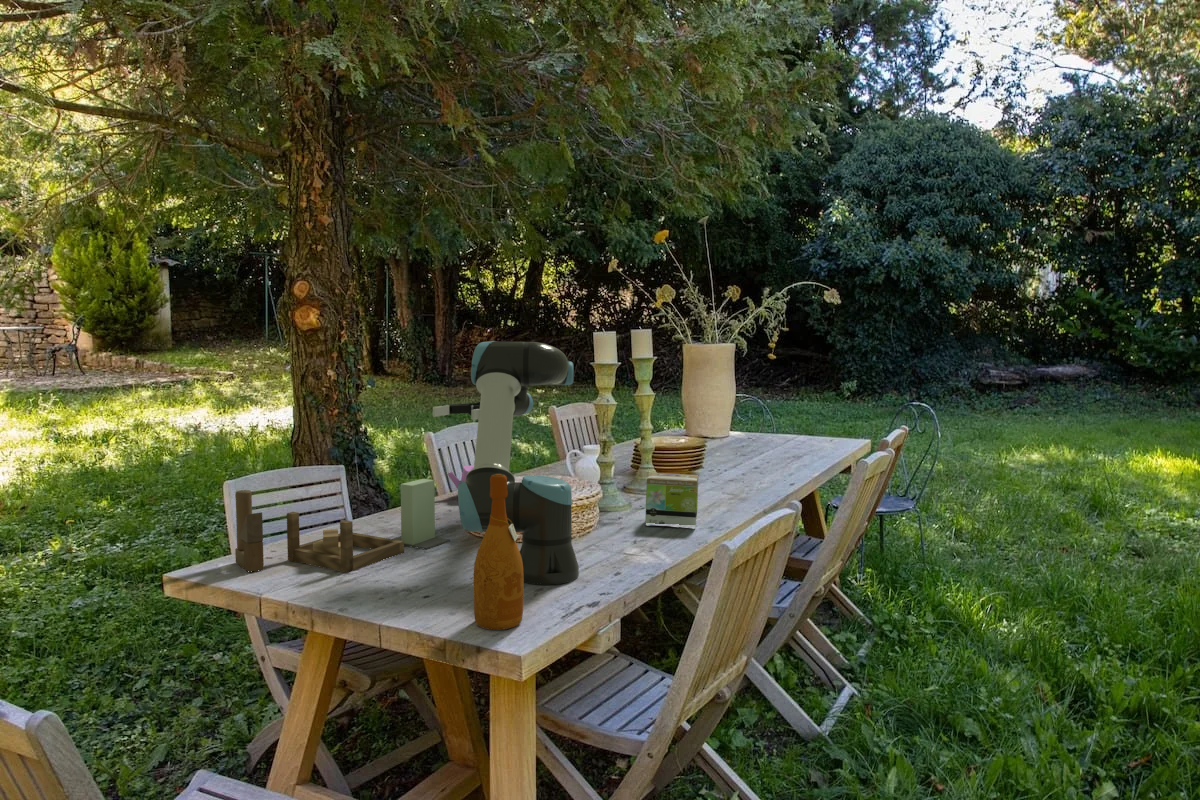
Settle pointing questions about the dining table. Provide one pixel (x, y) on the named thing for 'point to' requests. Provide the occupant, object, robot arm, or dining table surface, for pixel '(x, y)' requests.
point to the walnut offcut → (330, 538)
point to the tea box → (671, 499)
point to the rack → (347, 540)
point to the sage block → (417, 511)
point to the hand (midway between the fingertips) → (452, 413)
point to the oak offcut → (326, 548)
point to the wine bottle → (498, 567)
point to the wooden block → (248, 533)
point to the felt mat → (426, 542)
